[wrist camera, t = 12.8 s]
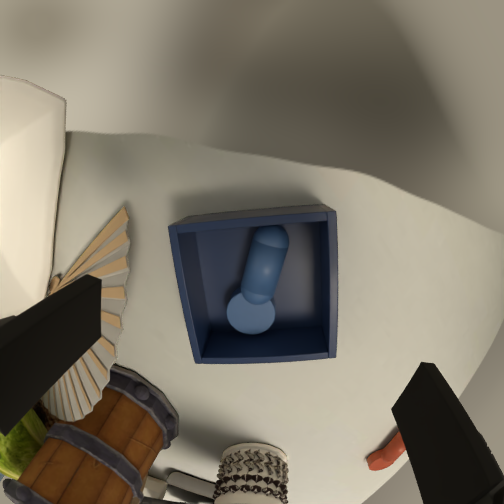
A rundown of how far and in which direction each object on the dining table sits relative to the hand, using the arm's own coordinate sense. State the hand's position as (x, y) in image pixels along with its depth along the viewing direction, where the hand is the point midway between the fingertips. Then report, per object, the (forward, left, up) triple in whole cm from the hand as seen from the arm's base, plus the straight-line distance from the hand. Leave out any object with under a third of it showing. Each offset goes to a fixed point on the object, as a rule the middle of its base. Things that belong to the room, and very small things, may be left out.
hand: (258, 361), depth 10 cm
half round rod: (+9, +38, -13) cm, 41 cm away
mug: (+19, +20, -13) cm, 30 cm away
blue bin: (+1, +1, -13) cm, 13 cm away
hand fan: (+23, +1, -13) cm, 27 cm away
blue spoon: (+1, +2, -13) cm, 13 cm away
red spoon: (-14, +27, -13) cm, 33 cm away
